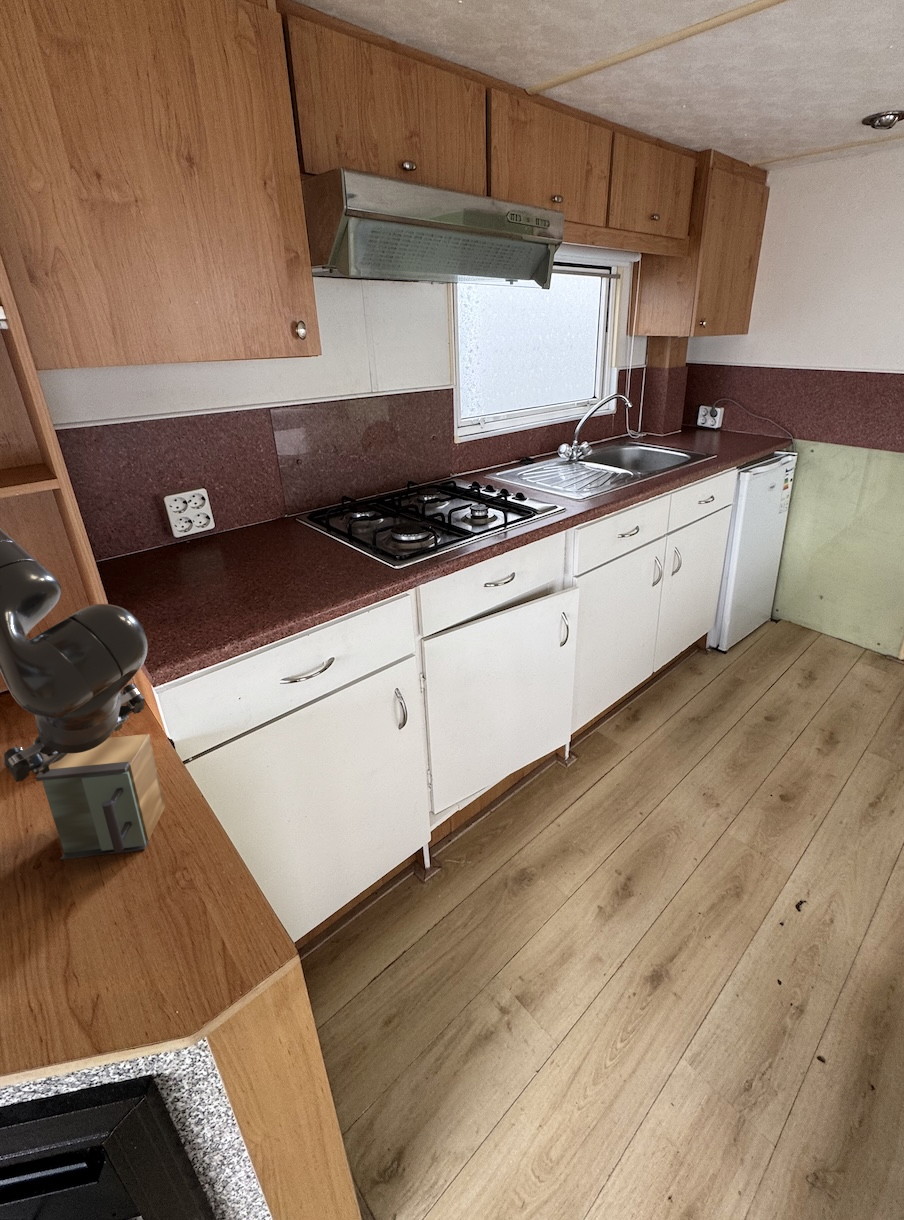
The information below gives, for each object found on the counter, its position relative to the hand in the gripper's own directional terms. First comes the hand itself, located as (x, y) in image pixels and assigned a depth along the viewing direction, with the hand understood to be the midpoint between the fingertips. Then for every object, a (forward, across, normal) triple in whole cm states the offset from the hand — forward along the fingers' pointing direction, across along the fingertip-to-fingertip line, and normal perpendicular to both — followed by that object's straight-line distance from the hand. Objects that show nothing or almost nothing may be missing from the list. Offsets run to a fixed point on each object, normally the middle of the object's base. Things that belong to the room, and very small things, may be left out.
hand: (79, 744), depth 75 cm
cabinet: (+20, 0, +10) cm, 23 cm away
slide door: (+15, +2, +14) cm, 20 cm away
